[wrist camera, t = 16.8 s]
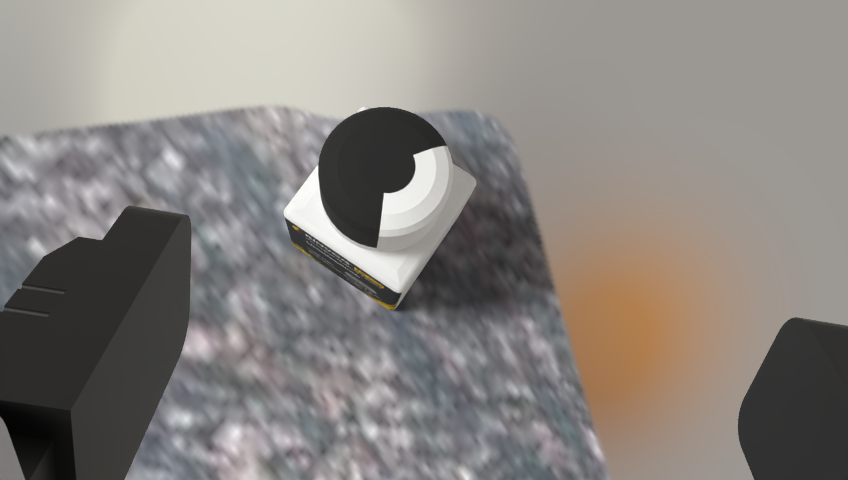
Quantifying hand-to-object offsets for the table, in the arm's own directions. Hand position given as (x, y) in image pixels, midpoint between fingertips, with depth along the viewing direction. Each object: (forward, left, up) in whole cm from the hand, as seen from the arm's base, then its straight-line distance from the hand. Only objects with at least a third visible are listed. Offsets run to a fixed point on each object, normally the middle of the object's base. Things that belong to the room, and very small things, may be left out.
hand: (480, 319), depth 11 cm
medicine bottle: (+3, +9, -35) cm, 36 cm away
